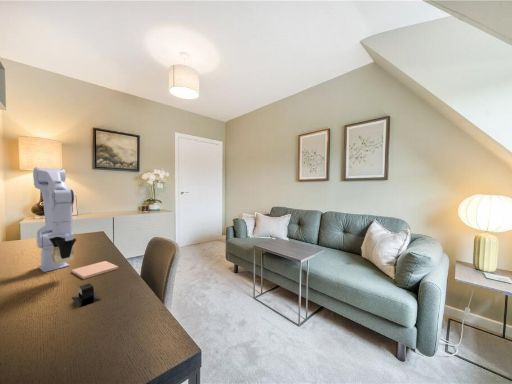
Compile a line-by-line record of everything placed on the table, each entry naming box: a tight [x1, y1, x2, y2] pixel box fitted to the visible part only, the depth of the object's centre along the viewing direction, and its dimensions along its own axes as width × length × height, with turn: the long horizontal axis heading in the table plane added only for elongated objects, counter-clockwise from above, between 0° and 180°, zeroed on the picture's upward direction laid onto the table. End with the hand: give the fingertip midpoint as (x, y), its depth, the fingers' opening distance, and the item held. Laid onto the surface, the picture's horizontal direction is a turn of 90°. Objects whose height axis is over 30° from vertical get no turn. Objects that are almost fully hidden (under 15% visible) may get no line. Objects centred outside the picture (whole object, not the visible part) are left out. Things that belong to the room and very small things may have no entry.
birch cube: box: [52, 246, 75, 264], centre depth 78 cm, size 5×5×5 cm
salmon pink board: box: [71, 260, 119, 280], centre depth 86 cm, size 12×12×1 cm
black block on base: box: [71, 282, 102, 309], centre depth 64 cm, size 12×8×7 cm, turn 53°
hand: (63, 256), depth 79 cm, fingers closed on birch cube, 5 cm apart
